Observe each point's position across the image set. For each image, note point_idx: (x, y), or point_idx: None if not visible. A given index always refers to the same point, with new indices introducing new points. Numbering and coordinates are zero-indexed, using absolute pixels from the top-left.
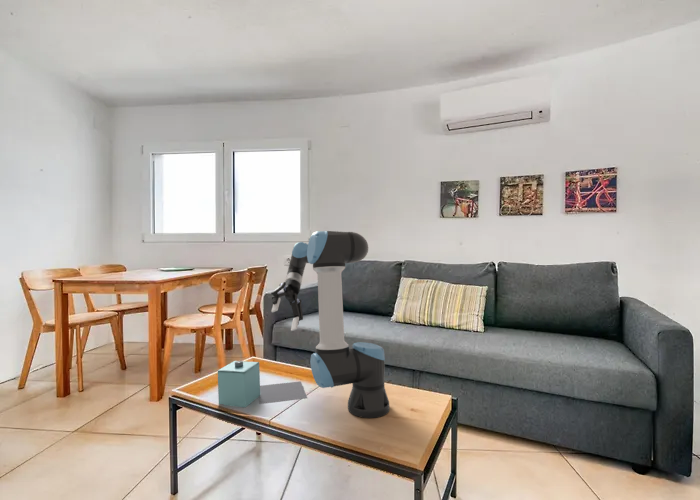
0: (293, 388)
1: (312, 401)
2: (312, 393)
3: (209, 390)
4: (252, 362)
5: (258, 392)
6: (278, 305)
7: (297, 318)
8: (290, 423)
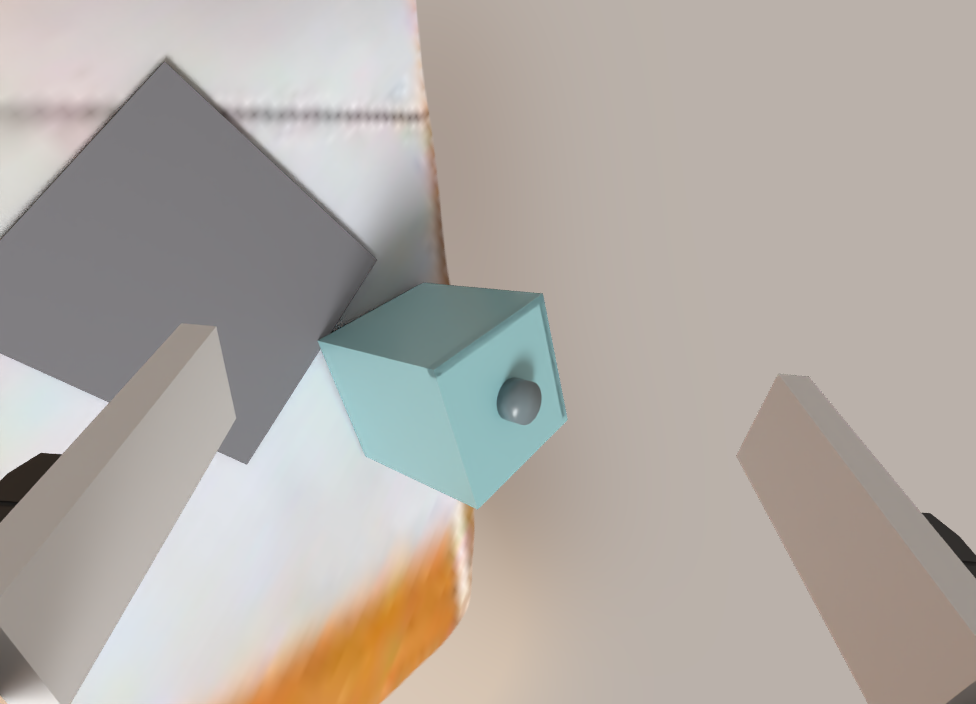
0: (110, 256)
1: (161, 13)
2: (48, 82)
3: (405, 562)
4: (453, 398)
5: (343, 334)
6: (849, 449)
7: (55, 542)
8: (398, 12)
